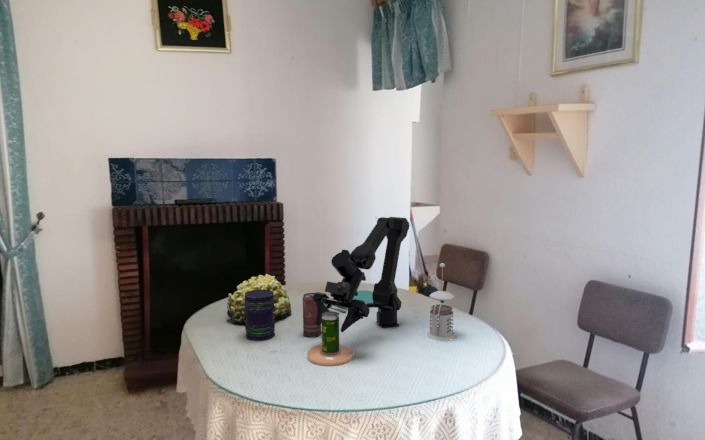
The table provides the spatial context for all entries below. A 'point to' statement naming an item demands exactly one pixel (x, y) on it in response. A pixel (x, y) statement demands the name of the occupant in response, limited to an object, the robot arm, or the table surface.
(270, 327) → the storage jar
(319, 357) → the saucer
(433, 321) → the french press
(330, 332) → the beer can
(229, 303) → the cauliflower
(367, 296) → the cutlery set
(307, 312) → the can
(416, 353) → the table surface
